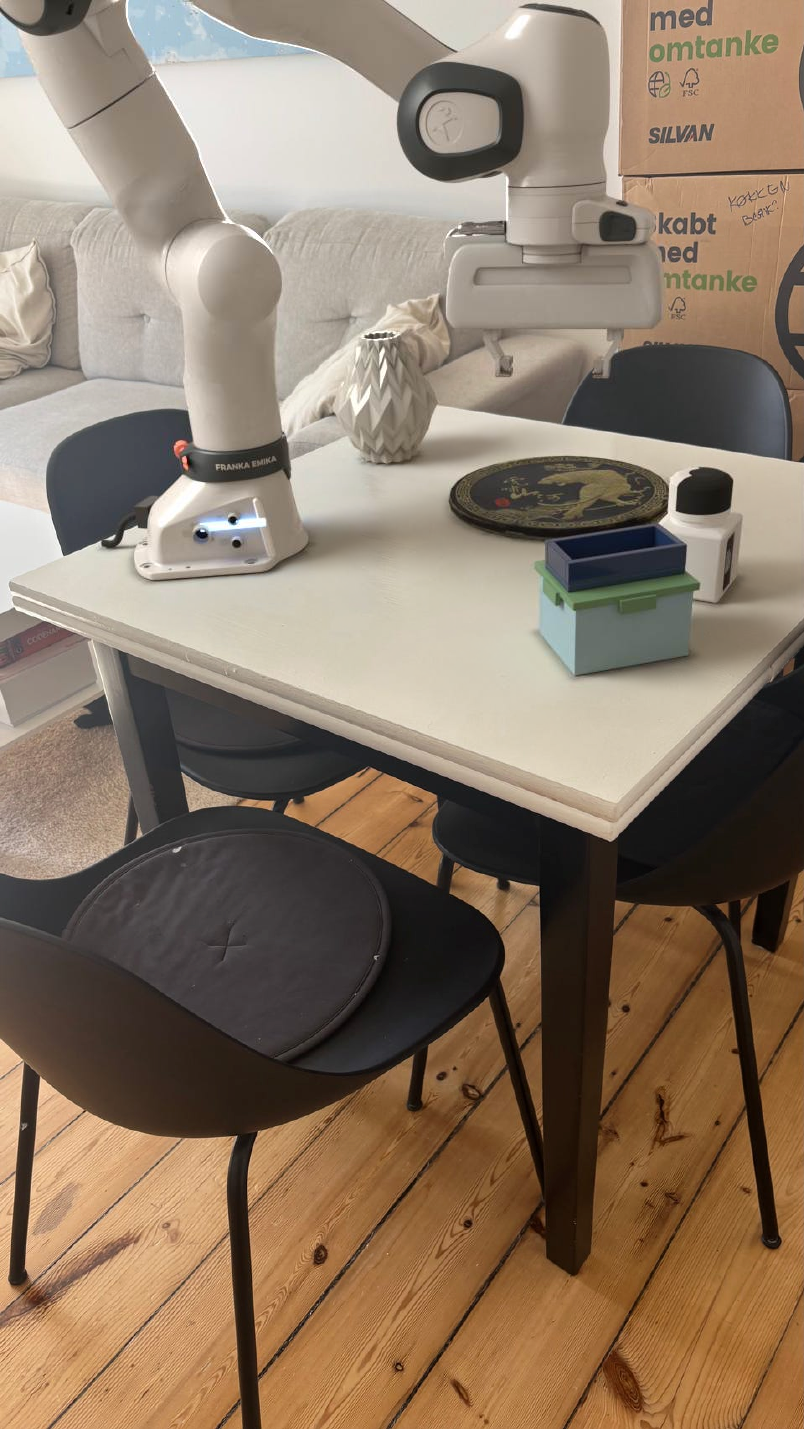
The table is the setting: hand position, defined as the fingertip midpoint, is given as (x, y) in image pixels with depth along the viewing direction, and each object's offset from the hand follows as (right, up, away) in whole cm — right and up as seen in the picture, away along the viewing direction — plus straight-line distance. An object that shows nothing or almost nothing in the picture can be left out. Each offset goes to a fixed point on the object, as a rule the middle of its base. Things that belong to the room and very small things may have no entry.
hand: (552, 376), depth 102 cm
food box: (+7, -25, +6) cm, 27 cm away
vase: (-16, +8, +65) cm, 68 cm away
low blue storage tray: (+6, -19, +2) cm, 20 cm away
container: (+18, -18, +17) cm, 31 cm away
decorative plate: (+7, -4, +43) cm, 44 cm away
